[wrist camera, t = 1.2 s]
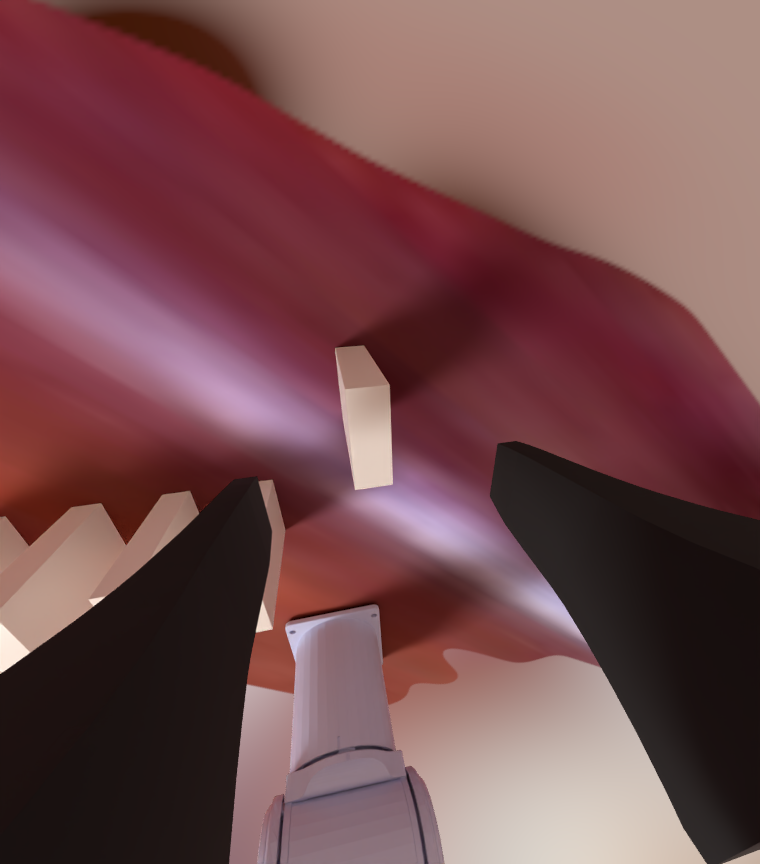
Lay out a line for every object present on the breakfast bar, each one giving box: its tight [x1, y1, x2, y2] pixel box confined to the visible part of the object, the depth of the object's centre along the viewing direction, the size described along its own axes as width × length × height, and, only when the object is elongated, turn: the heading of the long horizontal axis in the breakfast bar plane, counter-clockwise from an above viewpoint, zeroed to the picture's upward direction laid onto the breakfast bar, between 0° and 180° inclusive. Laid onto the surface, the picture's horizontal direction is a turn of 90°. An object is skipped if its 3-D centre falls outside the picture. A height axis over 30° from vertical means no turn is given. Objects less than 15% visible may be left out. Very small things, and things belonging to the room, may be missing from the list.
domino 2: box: [88, 491, 199, 606], centre depth 17 cm, size 4×2×7 cm, turn 3°
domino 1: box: [0, 503, 126, 672], centre depth 16 cm, size 4×2×7 cm, turn 2°
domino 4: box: [335, 345, 393, 490], centre depth 15 cm, size 4×2×7 cm, turn 2°
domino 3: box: [256, 480, 285, 632], centre depth 18 cm, size 4×2×7 cm, turn 2°
